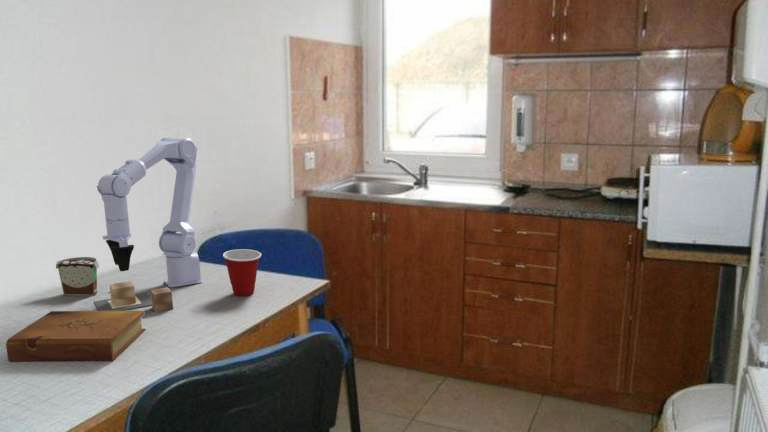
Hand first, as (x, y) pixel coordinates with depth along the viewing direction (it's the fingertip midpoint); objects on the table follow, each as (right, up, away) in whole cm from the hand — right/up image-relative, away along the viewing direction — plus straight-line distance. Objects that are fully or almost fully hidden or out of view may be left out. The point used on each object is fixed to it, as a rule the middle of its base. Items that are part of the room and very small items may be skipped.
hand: (122, 267), depth 175 cm
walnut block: (+12, -11, -2) cm, 16 cm away
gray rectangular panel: (0, -10, +2) cm, 10 cm away
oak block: (0, -10, +2) cm, 10 cm away
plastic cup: (+32, -8, +10) cm, 34 cm away
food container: (-16, -8, +13) cm, 23 cm away
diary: (+1, -17, -27) cm, 31 cm away
